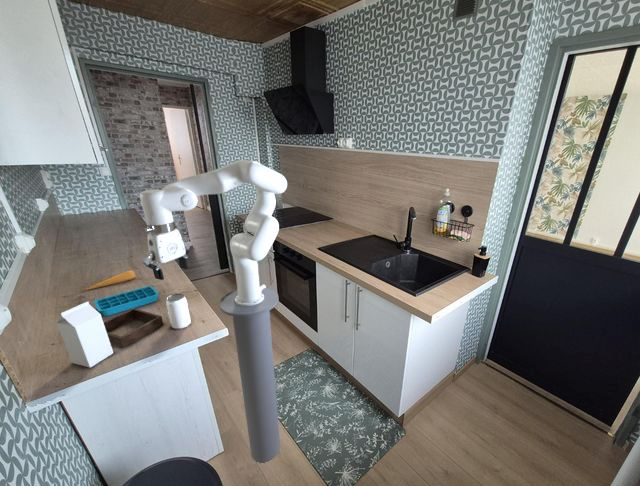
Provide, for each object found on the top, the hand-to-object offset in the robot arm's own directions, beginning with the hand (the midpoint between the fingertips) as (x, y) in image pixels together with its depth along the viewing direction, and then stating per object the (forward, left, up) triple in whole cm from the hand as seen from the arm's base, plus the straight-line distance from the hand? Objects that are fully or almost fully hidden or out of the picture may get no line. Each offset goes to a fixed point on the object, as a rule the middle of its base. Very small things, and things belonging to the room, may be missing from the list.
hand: (172, 273), depth 104 cm
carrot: (-11, -57, -22) cm, 62 cm away
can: (+1, 0, -22) cm, 22 cm away
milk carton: (+25, -9, -22) cm, 34 cm away
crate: (+11, -13, -22) cm, 27 cm away
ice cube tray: (-2, -32, -22) cm, 39 cm away
